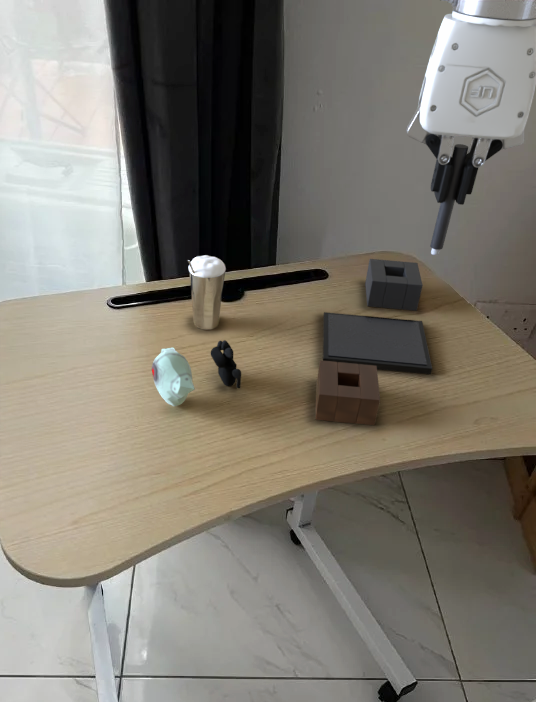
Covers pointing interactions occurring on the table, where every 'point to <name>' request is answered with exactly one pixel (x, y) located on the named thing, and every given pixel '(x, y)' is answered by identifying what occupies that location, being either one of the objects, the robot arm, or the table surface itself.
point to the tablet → (376, 342)
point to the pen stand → (347, 393)
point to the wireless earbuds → (226, 364)
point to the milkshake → (206, 290)
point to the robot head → (172, 376)
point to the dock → (393, 284)
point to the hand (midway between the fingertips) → (448, 198)
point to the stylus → (448, 199)
